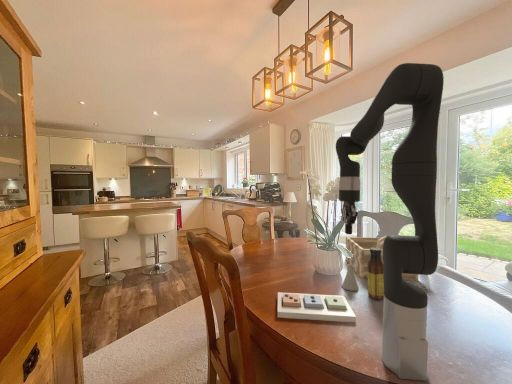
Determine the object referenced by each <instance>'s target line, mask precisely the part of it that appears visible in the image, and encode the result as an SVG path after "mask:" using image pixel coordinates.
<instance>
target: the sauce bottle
mask: <svg viewBox="0 0 512 384" xmlns="http://www.w3.org/2000/svg"><path fill="white" fill-rule="evenodd" d="M370 252H371V257H370V260H369V262H368V270H367V273H368V278H367V294H368V296H369V297H370V298H372V299H375V300H379V301H380V300H384V281H383V272H384V271H383V263H382V261H381V249H379V248H370Z"/></svg>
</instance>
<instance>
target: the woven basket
mask: <svg viewBox="0 0 512 384" xmlns="http://www.w3.org/2000/svg"><path fill="white" fill-rule="evenodd" d="M381 238H382V237H364V236H345V249H346V248H347V249H348V250H349V251H351V253H352V254H353V257H351V258H347V257H346V256H345V261H346V262H347V264H348V265H354V266H355V267H354V272H356V273H357V275H358V276H359V277H360V278H361V279H362V278H365V279H368V273H367V270H368V262H369V260H370V257H371V252H370V248H376V246H377V243H378V239H381ZM383 241H384V240H383ZM381 242H382V241H381ZM381 242H380V243H381ZM381 261H382V263H383V250H381ZM402 279H404V280H405V281H407V280H408V281H419V274H407V273H402Z"/></svg>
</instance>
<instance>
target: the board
mask: <svg viewBox="0 0 512 384" xmlns="http://www.w3.org/2000/svg"><path fill="white" fill-rule="evenodd" d="M283 294H296V295H299V299H300V308H298V307H283ZM304 295H313V296H320V298H321V300H322V303H323V309H315V308H305V306H304ZM325 296H331V297H342V299H343V301H344V302H345V304H346V310H331V309H327V307H326V304H325ZM277 318H281V319H283V318H284V319H295V320H311V321H323V322H324V321H326V322H341V323H343V322H344V323H357V315H355V312H354V311H353V309H352V307H351V305H350V304H349V302H348V301H347V299H346V297H345V295H337V294H335V295H333V294H316V293H315V294H313V293H301V292H300V293H296V292H282V291H281V292H280V291H278V292H277Z"/></svg>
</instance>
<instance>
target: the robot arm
mask: <svg viewBox="0 0 512 384" xmlns="http://www.w3.org/2000/svg"><path fill="white" fill-rule="evenodd" d="M444 79H445V78H444V72H443V70H442V68H441V67H440V66H439V65H436V64H434V63H433V64H432V63H417V62H416V63H415V62H414V63H413V62H406V63H405V62H404V63H400V64H399V65H397V66H396V67H395V68H393V69H392V70H391V72H390V73H389V74H388V75H387V77H386V78H385V80H384V82H383V83H382V85H381V86H380V88H379V90H378V92H377V93H376V95H375V96H374V98H373V100H372V102H371V104H370V106H369V108H368V109H367V110H366V112H365V114H364V115H363V116H362V117H361V119H360V120H359V121H358V122H357V123H356V125H355V126H354V127H353V128H352V129H351V131H350V135H342V136H340V137H338V138H337V140H336V142H335V152H336V155H337V159H338V163H339V181H338V182H339V183H338V201H340V202H343V204H342V207H341V209H340V210H341V211H340V212H341V216H342V220H343V222H344V227H345V228H344V233H345V234H346V235H352V234H353V225H354V224H356V220H357V218H358V213H359V212H358V211H357V207H356V203H358V202H360V201H361V178H360V177H361V165H360V161H359V162H358V161H356V160H352V159H351V158H350V157H349V156H359V155H361V154H363V153H364V152H365V151H366V150H367V147H368V145H369V143H370V141H372V140H373V139H374V138H375V137H376V136H377V135H378V134H379V133H380V132H381V130H382V128H383V127H384V123H385V113H386V112H387V110H389V109H390V108H392V107H393V106H395V105H403V106H405V105H406V106H412V116H411V123H410V126H409V129H408V131H407V133H406V134H405V136H404V137H403V139H402V140H401V141H400V143H399V144H398V146H397V148H396V149H395V151H394V153H393V156H392V159H391V180H390V181H391V184H392V185H391V186H392V187H393V190H394V191H395V192H396V194H397V196H398V197H399V199H400V201H402V203H403V204H404V205H405V207H406V209H407V210H408V212H409V214H410V215H411V218H412V220H413V221H412V222H413V225H414V235H402V234H398V235H397V234H388V235H386V236H387V237H386V238H385V240H384V243H383V271H384V272H383V281H384V299H383V302H382V303H383V305H382V306H383V308H382V309H383V311H382V339H381V341H382V343H381V344H382V346H381V347H382V348H381V349H382V351H381V359H382V362H383V364H384V366H386V367H387V369H389V370H390V372H392V373H394V374H395V375H396V376H397V377H398V378H399V379H403V380H412V381H413V380H415V381H421V382H423V381H425V382H426V381H427V380H428V379H427V378H428V377H427V376H428V375H427V374H428V354H429V353H428V351H429V349H428V347H429V342H428V341H427V326H428V324H427V323H428V322H427V321H428V304H429V303H428V301H429V299H428V293H427V292H426V291H425V290H424V289H423V288H422V287H420V286H419V285H416V284H415V283H412V282H409V280H408V281H407V280H404V279H402V273H407V274H418V276H420V275H421V276H423V275H424V276H429V275H430V276H431V275H433V274H435V273H436V270H437V268H438V265H439V244H438V234H437V218H436V197H437V196H436V194H437V178H438V177H437V176H438V155H437V154H438V148H437V147H438V134H439V120H440V112H441V106H442V105H441V104H442V98H443V91H444Z"/></svg>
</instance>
